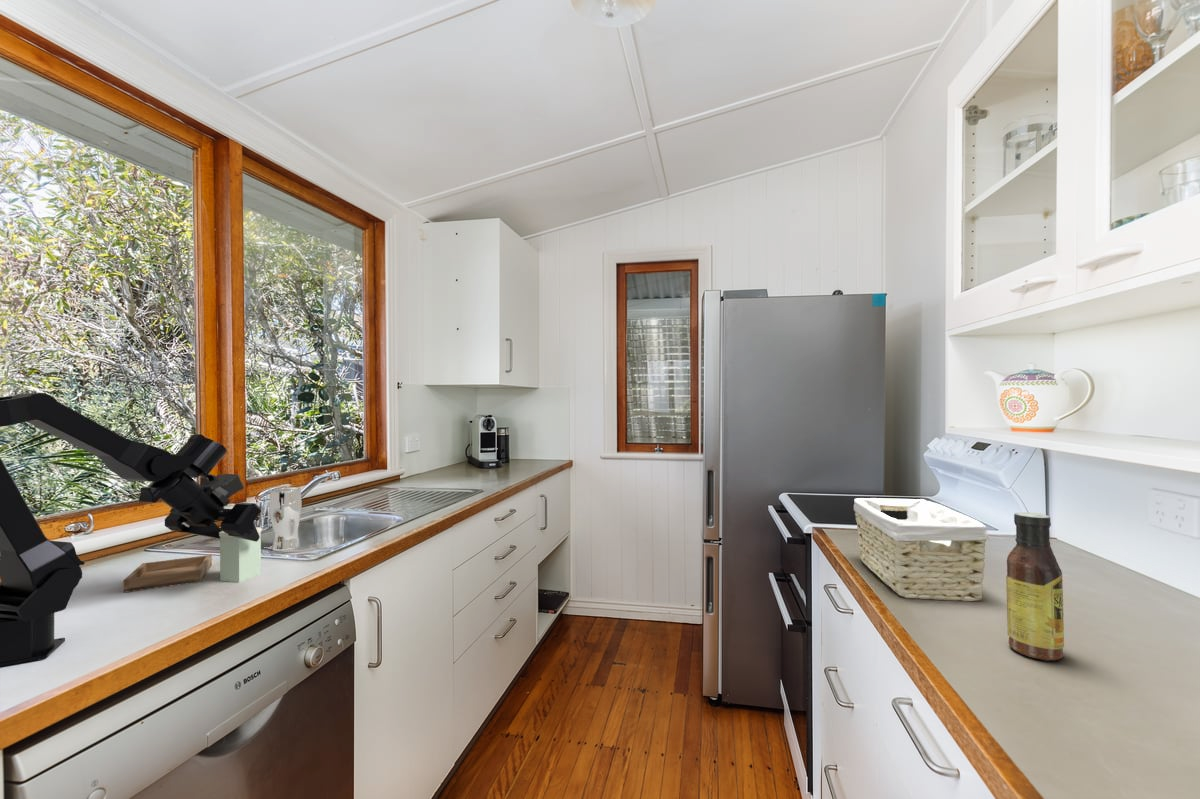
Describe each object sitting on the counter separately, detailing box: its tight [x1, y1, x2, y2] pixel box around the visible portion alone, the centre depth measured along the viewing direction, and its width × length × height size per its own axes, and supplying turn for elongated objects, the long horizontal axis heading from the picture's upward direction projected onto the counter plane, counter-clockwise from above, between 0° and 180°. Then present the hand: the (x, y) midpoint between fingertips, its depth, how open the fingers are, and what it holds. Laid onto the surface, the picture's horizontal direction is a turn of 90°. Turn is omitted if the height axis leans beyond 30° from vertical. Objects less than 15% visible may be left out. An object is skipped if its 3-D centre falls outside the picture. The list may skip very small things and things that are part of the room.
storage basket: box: [853, 497, 990, 602], centre depth 103 cm, size 24×16×15 cm
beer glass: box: [269, 486, 303, 552], centre depth 129 cm, size 7×7×15 cm
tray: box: [122, 554, 213, 593], centre depth 107 cm, size 12×12×2 cm
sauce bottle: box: [1005, 512, 1065, 661], centre depth 73 cm, size 6×6×20 cm
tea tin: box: [219, 526, 263, 583], centre depth 107 cm, size 5×5×10 cm
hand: (240, 538), depth 107 cm, fingers open, 9 cm apart
